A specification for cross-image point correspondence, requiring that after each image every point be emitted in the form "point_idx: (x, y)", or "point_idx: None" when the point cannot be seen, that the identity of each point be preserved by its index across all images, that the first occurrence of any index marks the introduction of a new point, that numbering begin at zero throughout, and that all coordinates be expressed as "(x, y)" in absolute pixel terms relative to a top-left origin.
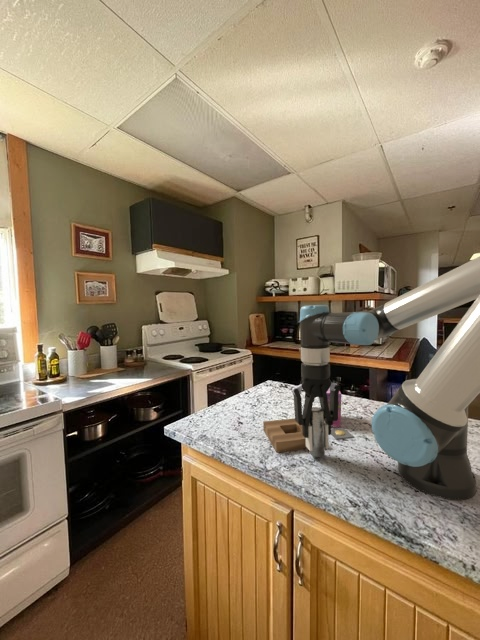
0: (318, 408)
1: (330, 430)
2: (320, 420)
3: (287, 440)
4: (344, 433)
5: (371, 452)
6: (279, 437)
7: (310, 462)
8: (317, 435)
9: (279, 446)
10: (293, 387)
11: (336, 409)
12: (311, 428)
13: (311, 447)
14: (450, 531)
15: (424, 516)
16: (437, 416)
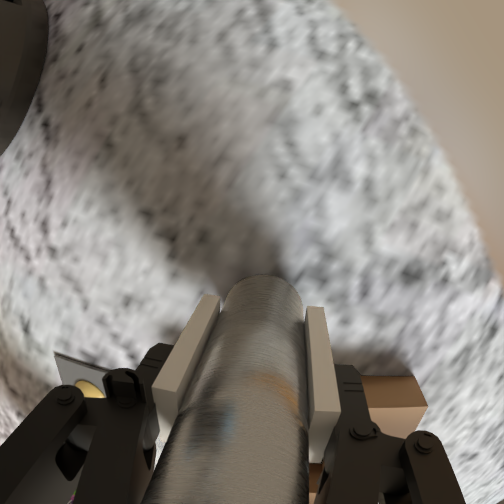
0: None
1: (147, 359)
2: (226, 435)
3: (374, 411)
4: (77, 384)
5: (38, 248)
6: (388, 434)
7: (325, 270)
8: (276, 346)
9: (408, 392)
10: None
11: (13, 451)
12: (319, 400)
13: (314, 315)
14: None
15: None
16: None
